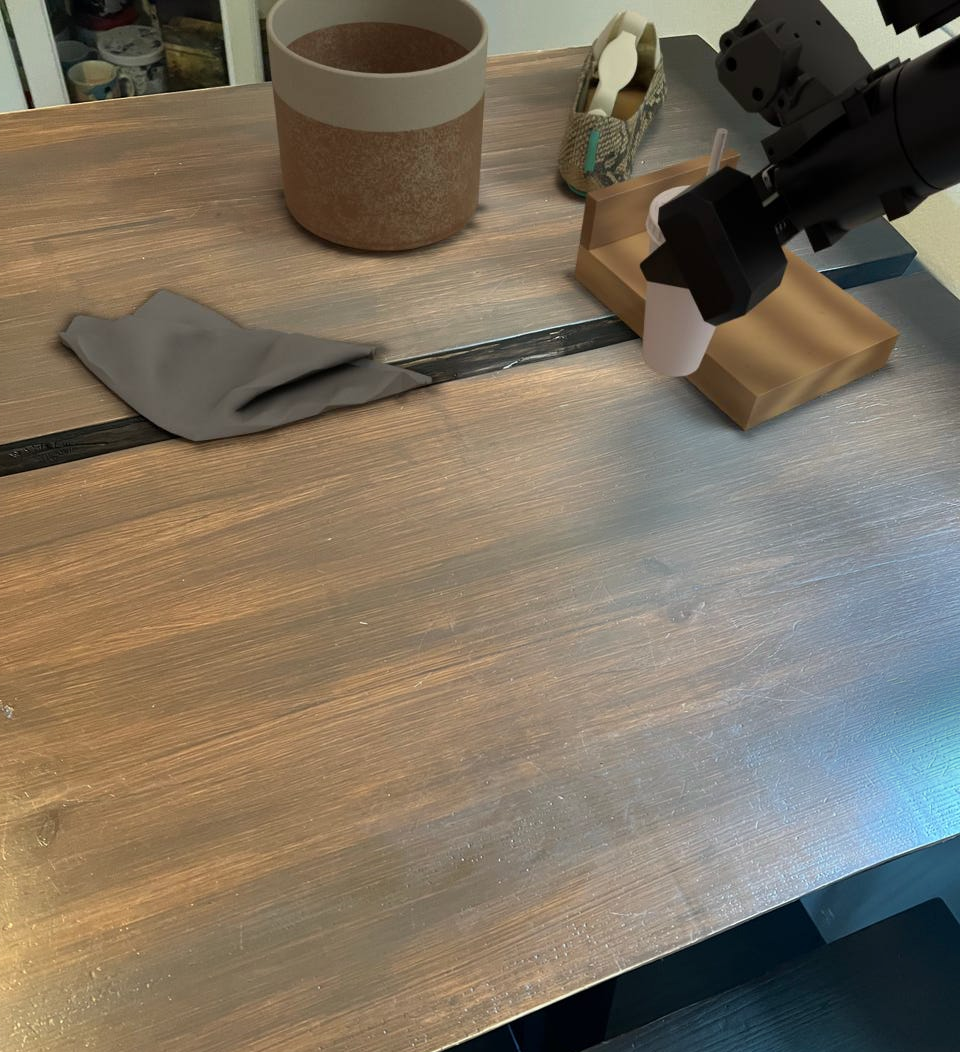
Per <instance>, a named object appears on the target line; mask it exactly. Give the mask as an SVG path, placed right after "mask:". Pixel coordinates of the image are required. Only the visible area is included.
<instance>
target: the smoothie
mask: <svg viewBox="0 0 960 1052" xmlns="http://www.w3.org/2000/svg"><path fill="white" fill-rule="evenodd" d="M715 132H716V133H715V137H714V142H713V146H712V150H711V153H710V154H711V158H710V162H709V166H708V170H707V175H709V174H711V173H713V172H715V171H717V170H718V169H719V165H720V161H721V157H722V153H723V150H724V148H725V145H726V140H727V136H728V132H729V131H728V130H727V129H726V128H717V130H716V131H715ZM707 175H706V176H707ZM690 186H691V185H688V186H680V187H675V188H671V189H669V190H666V191H664V192H662V193H661V194H659V195H658V196H657V197H655V198H654V200H653V201H652V203H651V205H650V209H649V214H648V217H647V220H646V228H647V233H648V234H649V236H650V246H649V255H650V254H651V253H652V252H653V251H655V250H656V249H657V248H658V247H659V246H660V245H662V244H663V243H664V242H665V241H666V240H665V238H664V236H663V234H662V232H661V230H660V228H659V226H658V224H657V223H658V212H659V207H661V206H662V205H664V204H665V203H666V202H668V201H669V200H671V199H672V198H674V197H675V196H677V195H678V194H679V193H681V192H682V191H684V190H685V189H687V188H688V187H690ZM715 328H716V327H715V326H713V325H711V324H709V323H706V322H704V320H703V318H702V316H701V314H700V312H699V310H698V307H697V305H696V303H695V301H694V299H693V297H692V295H691V293H690V291H689V289H685V288H679V287H674V286H669V285H663V284H658V283H653V282H648V281H647V290H646V304H645V319H644V333H643V339H642V348H641V349H642V352H641V357H642V360H643V363H644V364H645V365H646V366H647V367H648V368H649V369H650V370H652V371H653V372H655V373H658V374H659V375H662V376H668V377H677V378H679V377H684V376H686V375H689V374H691V373H693V372H694V371H696V370H697V369H698V367H699V365H700V363H701V360H702V358H703V356H704V354H705V351H706V349H707V347H708V344H709V342H710V340H711V338H712V335H713V333H714V331H715Z"/></svg>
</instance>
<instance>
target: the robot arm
mask: <svg viewBox="0 0 960 1052" xmlns="http://www.w3.org/2000/svg"><path fill="white" fill-rule="evenodd" d="M875 2H876V5H877V6H878V9H879V11H880V15H881V16H882V19H883V23H884V25H885V27H886V28H887V27H888V26H891V25H892V27H893V31H894V32H895V35H896V36H897V37H898V36H899V35H901V34H903V33H904V32H906V31H908V30H910V29H912V28H913V27H914V28H915V30H916V33H917V36H918V39H922V38H923V37H926V36H927V35H929V34H931V33H933V32H935V31H936V30H939V29H941V28H942V27H944V26H946V25H947V24H950V23H951V22H953V21H955V20H956V19H958V18H960V0H875ZM718 47H719V50H720V51H719V52H718V53H717V55H716V56H715V58H714V66H715V70H716V72H717V73H716V74H717V75H716V76H717V80H718V82H719V83H720V84H721V86H722V87H723V88H724V89H725V90H726V91H727V93H728V94H729V95H730V96H731V97H732V98H733V99H734V100H735V101H736V102H737V104H738V105H739V106H740V107H741V108H742V109H743V110H744V112H745V113H747V114H757V113H758V114H759V115H760V117H761V118H762V119H763V120H764V121H765V122H766V123H768V124H769V125H771V126H773V127H775V128H778V129H776V130H775V131H773V132H771V133H769V134H768V135H766V136H765V137H764V138H762V139H761V140H759V141H760V145H761V146H762V150H763V151H764V154H765V155H766V158H767V160H768V164H767V165H766V166H764V167H763V168H761V170H760V171H758V172H757V173H756V174H754V175H753V176H752V175H750V174H748V173H746V172H744V171H741V170H739V169H737V168H736V169H735V168H732V167H730V166H728V165H726V166H724V167H722V168H720V169H719V170H717V171H715V172H713V173H711V174H709V175H707V176H706V177H704V178H703V179H701V180H700V181H698V182H696V183H695V184H693V185H691V186H690V187H688V188H687V189H685V190H684V191H682V192H681V193H679V194H678V195H677V196H675V197H674V198H672V199H671V200H669V201H668V202H666V203H665V204H664V205H662V206H661V207H659V212H658V223H657V224H658V226H659V228H660V230H661V232H662V234H663V236H664V238H665V240H666V241H665V242H664V243H663V244H662V245H660V246H659V247H658V248H657V249H656V250H655V251H653V252H652V253H651V254H650V255H649V256H648V257H647V258H645V259H644V260H643V261H642V262H641V263H640V269H641V271H642V273H643V275H644V277H645V279H646V280H647V281H648V282H653V283H658V284H663V285H669V286H674V287H679V288H685V289H689V291H690V293H691V295H692V297H693V299H694V301H695V303H696V305H697V307H698V310H699V312H700V314H701V316H702V318H703V320H704V322H706V323H709V324H711V325H713V326H715V327H716V326H718V325H721V324H723V323H726V322H729V321H731V320H734V319H737V318H739V317H742V316H745V315H746V314H747V313H748V312H749V311H751V310H752V309H753V308H754V307H755V306H757V305H758V304H759V303H760V302H761V301H762V300H764V299H765V298H766V297H767V296H768V295H770V294H771V293H772V292H773V291H774V290H775V289H777V288H778V287H779V286H780V285H781V282H782V279H783V276H784V273H785V270H786V267H787V264H788V261H787V258H786V256H785V254H784V252H783V249H782V247H783V246H786V245H787V244H789V243H790V242H791V241H792V240H793V239H795V238H796V237H797V236H798V235H800V234H801V233H802V232H803V231H804V232H805V234H806V236H807V239H808V241H809V244H810V246H811V248H812V250H813V253H814V254H816V253H819V252H821V251H824V250H826V249H828V248H831V247H832V246H834V245H835V244H836V243H837V242H838V241H840V240H841V239H842V238H843V237H844V236H846V235H847V234H848V233H849V232H851V230H853V229H854V228H855V229H856V228H857V227H860V226H862V225H864V224H867V223H869V222H871V221H873V220H876V219H878V218H879V219H880V218H881V217H883V216H886V218H887V220H888V222H889V223H891V222H893V221H895V220H898V219H900V218H903V217H905V216H908V215H910V214H911V213H912V212H913V211H915V210H916V209H917V208H918V207H919V206H920V205H921V204H922V203H924V202H925V200H927V199H928V198H929V197H930V196H933V195H936V194H938V193H940V192H942V191H944V190H947V189H949V188H952V187H955V186H956V185H959V184H960V33H958V34H957V35H955V36H953V37H951V38H950V39H948V40H946V41H944V42H942V43H940V44H939V45H937V46H935V47H933V48H932V49H929V50H928V51H926V52H924V53H922V54H920V55H919V56H916V57H915V58H914V59H911V57H908V58H906V59H905V60H903V61H901V58H900V56H896V57H894V58H893V59H890V60H889V61H888V62H885V63H884V64H881V65H879V66H878V67H876V68H875V69H874V68H873V67H872V66H871V64H870V63H869V62H868V60H867V59H866V58H865V56H864V55H863V54H862V52H861V51H860V49H859V45H858V44H857V42H856V40H855V38H854V37H853V36H852V35H851V34H850V32H849V31H848V30H847V29H846V28H845V27H844V26H843V24H841V22H840V21H839V20H838V19H837V18H836V16H834V15H833V13H832V12H831V11H830V10H829V9H828V8H827V6H826V5H825V4H824V3H823V2H822V1H821V0H754V2H753V3H752V4H751V6H750V7H749V8H748V10H747V12H746V13H745V14H744V16H743V17H742V18H741V20H740V21H739V22H738V24H737V25H735V26H734V27H732V28H730V29H729V30H727V31H725V32H724V33H722V34H721V36H720V37H719V41H718Z"/></svg>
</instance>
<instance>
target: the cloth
mask: <svg viewBox="0 0 960 1052" xmlns="http://www.w3.org/2000/svg"><path fill="white" fill-rule="evenodd" d="M56 334H57V336H58V338H59V339H60V341H61V343H62V344H63V345H64V346H66V347H67V348H69V349H70V350H72V351H73V352H74V353H75V354H76V355H77V357H78V358H79V359H80V361H81V362H82V363H83V364H84V366H86V367H87V369H89V370H90V371H91V372H92V373H93V374H94V375H95V376H96V377H97V378H98V380H101V382H102V383H103V384H104V385H106V386H107V388H108V389H110V390H111V391H112V392H114V394H116V395H117V396H118V397H119V398H120V399H122V400H123V401H124V402H125V403H127V405H129V406H131V407H132V408H133V409H134V410H135V411H136V412H137V413H139V414H140V415H142V416H143V417H144V418H146V419H147V420H149V421H150V422H152V423H153V424H155V425H156V426H157V427H160V428H161V429H163V430H165V431H167V432H169V433H171V434H173V435H176V436H180V437H182V438H185V439H188V440H190V441H193V442H201V441H207V440H215V439H221V438H228V437H235V436H239V435H241V436H242V435H246V434H253V433H258V432H262V431H266V430H269V429H273V428H276V427H279V426H284V425H286V424H290V423H293V422H296V421H300V420H303V419H308V418H310V417H314V416H316V415H320V414H323V413H326V412H329V411H332V410H336V409H339V408H346V407H351V406H355V405H357V406H358V405H361V404H362V405H363V404H365V403H369V402H372V401H376V400H379V399H382V398H387V397H390V396H393V395H397V394H400V393H403V392H406V391H410V390H413V389H419V388H422V387H425V386H427V385H432V384H433V377H431V376H429V375H425V374H422V373H420V372H417V371H414V370H410V369H406V368H402V367H399V366H396V365H392V364H388V363H384V362H380V361H377V360H371V359H366V358H362V357H366V356H371V357H374V355H375V352H376V350H377V346H374V345H366V344H357V343H349V342H343V341H334V340H328V339H325V338H320V337H316V336H313V335H308V334H304V333H299V332H291V333H288V332H283V331H281V330H275V329H271V328H263V329H262V328H261V329H260V328H259V329H244V328H243V327H240V326H239V325H238V324H236V323H234V322H233V321H232V320H229V318H226V317H225V316H223V315H221V314H219V313H218V312H216V311H214V310H212V309H210V308H208V307H206V306H204V305H202V304H200V303H197V302H196V301H194V300H191V299H189V298H187V297H184V296H182V295H179V294H176V293H173V292H171V291H168V290H165V289H163V290H159V291H157V292H156V293H155V294H154V295H152V296H151V297H150V298H149V299H148V300H147V301H146V302H144V303H143V304H142V305H140V306H139V308H137V309H136V310H135V311H134V313H133V314H125V315H123V316H121V317H119V318H117V319H115V320H110V319H105V318H99V317H94V316H88V315H81V314H79V315H77V316H75V317H74V318H73V319H72V321H71V322H70V324H69V326H68V328H67V329H66V330H65V331H61V332H56Z"/></svg>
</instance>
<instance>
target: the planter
mask: <svg viewBox="0 0 960 1052" xmlns="http://www.w3.org/2000/svg"><path fill="white" fill-rule="evenodd" d="M265 28H266V29H265V30H266V39H267V48H268V59H269V66H270V68H269V69H270V74H271V76H270V77H271V85H272V95H273V103H274V113H275V122H276V132H277V140H278V150H279V158H280V168H281V179H282V187H283V195H284V201H285V204H286V207H287V209H288V211H289V213H290V214H291V215H292V217H293V218H294V219H295V221H297V222H298V223H299V224H300V225H301V226H302V227H303V228H304V229H306V230H308V231H309V232H310V233H312V234H314V235H316V236H317V237H320V238H322V239H324V240H327V241H329V242H332V243H334V244H338V245H341V246H344V247H349V248H354V249H358V250H366V251H376V252H377V251H378V252H379V251H380V252H382V251H383V252H391V251H405V250H411V249H417V248H422V247H426V246H428V245H429V246H430V245H432V244H435V243H438V242H440V241H443V240H445V239H447V238H449V237H451V236H453V235H455V234H456V233H457V232H459V231H460V230H462V229H463V228H464V227H465V226H466V225H467V224H468V223H469V222H470V221H471V219H472V218H473V216H474V215H475V213H476V211H477V209H478V205H479V195H480V181H481V180H480V179H481V162H482V149H483V148H482V146H483V131H484V114H485V113H484V112H485V98H486V96H485V95H486V79H487V78H486V77H487V63H488V61H487V60H488V46H489V45H488V44H489V26H488V22H487V21H486V18H485V17H484V15H483V14H482V12H481V11H480V10H479V9H478V7H476V6H475V5H474V4H473V3H472V2H470V1H469V0H277V1H276V2H275V3H274V4H273V5H272V7H271V8H270V9H269V11H268V13H267V16H266V20H265Z"/></svg>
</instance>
